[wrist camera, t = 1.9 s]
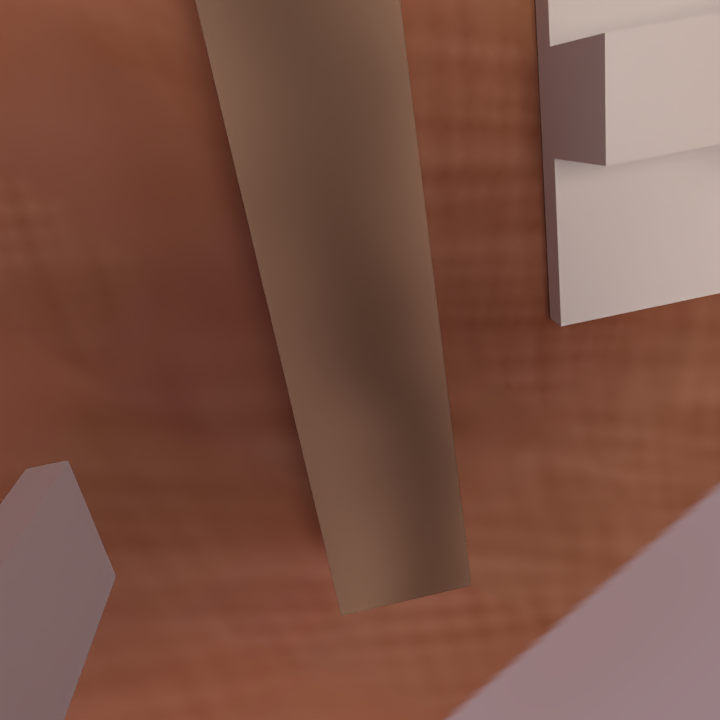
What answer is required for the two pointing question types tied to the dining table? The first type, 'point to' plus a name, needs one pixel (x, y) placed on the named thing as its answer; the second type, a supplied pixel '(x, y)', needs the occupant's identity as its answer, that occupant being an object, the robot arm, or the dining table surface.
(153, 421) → the dining table surface
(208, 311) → the dining table surface
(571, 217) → the stand
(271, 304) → the beam
